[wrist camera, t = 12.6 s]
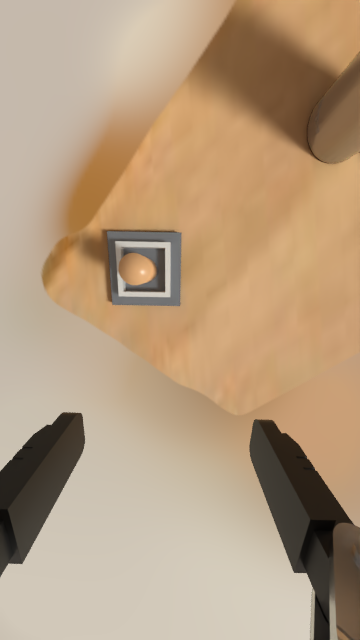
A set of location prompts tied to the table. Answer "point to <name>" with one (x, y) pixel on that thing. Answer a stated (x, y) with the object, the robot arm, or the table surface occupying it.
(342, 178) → the table surface
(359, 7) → the table surface
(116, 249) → the housing
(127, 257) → the brown peg
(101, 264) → the table surface
